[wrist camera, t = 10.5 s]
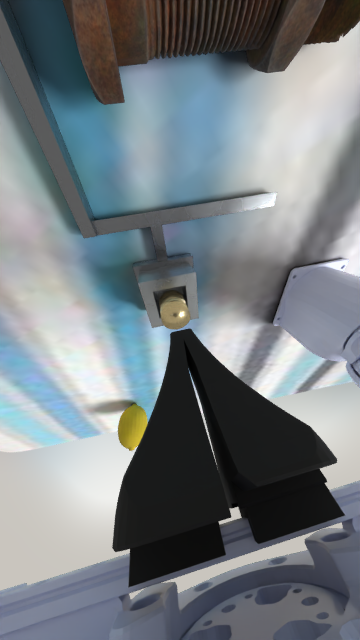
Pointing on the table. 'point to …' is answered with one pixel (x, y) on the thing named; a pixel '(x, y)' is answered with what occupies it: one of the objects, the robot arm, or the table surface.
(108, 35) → the bolt
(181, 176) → the table surface
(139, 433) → the lemon
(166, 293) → the press pin
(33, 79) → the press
